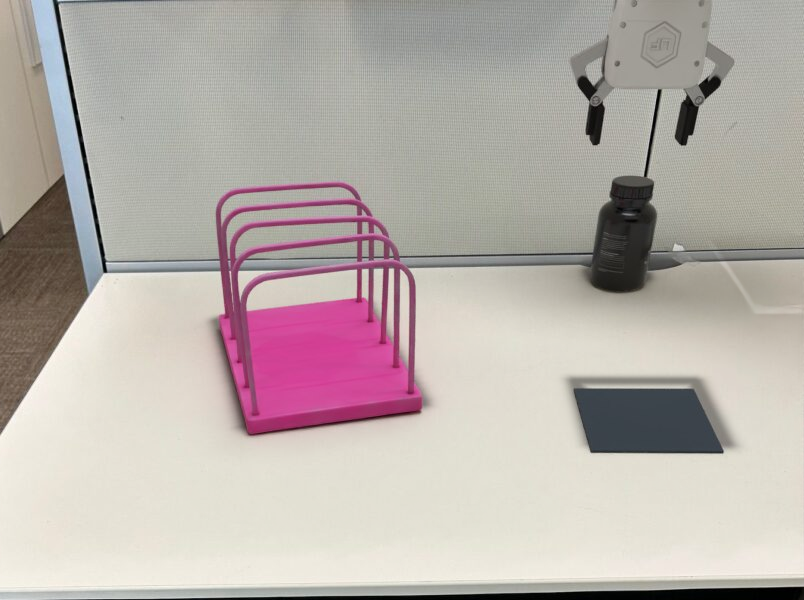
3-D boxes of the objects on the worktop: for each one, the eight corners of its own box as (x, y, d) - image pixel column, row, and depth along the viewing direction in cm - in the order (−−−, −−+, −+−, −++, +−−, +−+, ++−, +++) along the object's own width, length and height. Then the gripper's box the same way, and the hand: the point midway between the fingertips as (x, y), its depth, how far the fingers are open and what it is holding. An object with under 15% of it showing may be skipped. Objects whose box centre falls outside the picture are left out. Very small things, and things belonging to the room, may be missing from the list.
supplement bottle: (656, 287, 114) (676, 185, 106) (608, 297, 112) (625, 193, 104) (624, 268, 118) (641, 169, 111) (578, 277, 117) (591, 176, 109)
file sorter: (365, 311, 110) (363, 172, 100) (423, 412, 91) (427, 253, 81) (219, 328, 107) (202, 187, 97) (248, 436, 89) (230, 274, 79)
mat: (693, 390, 94) (693, 388, 94) (723, 452, 85) (723, 451, 84) (573, 390, 94) (573, 388, 94) (590, 452, 85) (591, 450, 85)
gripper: (588, -36, 91) (564, 151, 102) (767, -36, 90) (723, 152, 101) (577, -45, 97) (556, 133, 108) (746, -46, 96) (706, 133, 107)
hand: (637, 142), depth 105 cm, fingers open, 9 cm apart
